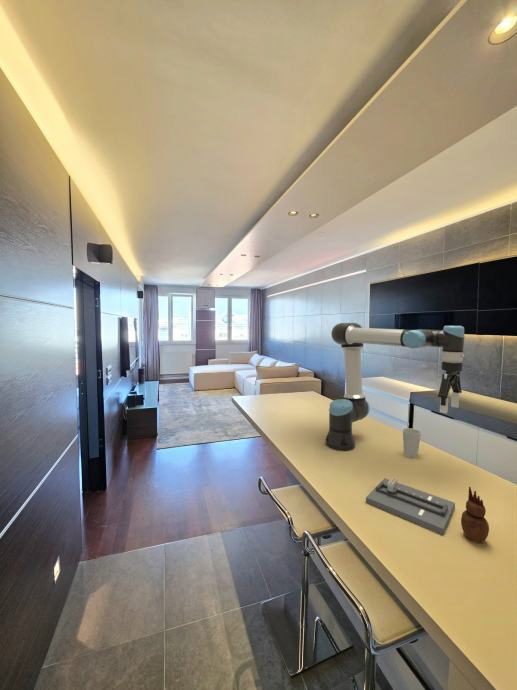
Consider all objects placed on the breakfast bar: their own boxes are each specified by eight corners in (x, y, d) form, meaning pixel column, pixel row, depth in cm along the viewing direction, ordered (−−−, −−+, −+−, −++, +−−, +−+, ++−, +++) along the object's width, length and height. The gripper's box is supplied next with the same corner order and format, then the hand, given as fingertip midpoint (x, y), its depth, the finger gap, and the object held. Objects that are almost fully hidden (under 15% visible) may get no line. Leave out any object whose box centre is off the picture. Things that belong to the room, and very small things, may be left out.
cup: (422, 459, 140) (423, 434, 139) (404, 457, 141) (405, 433, 141) (416, 452, 148) (417, 428, 147) (399, 450, 149) (400, 427, 148)
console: (365, 502, 106) (366, 493, 106) (384, 482, 119) (384, 474, 119) (443, 535, 90) (443, 524, 89) (454, 508, 103) (455, 498, 102)
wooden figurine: (456, 530, 92) (458, 484, 90) (473, 529, 92) (476, 483, 91) (473, 547, 85) (476, 497, 84) (492, 545, 85) (495, 496, 84)
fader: (385, 493, 108) (386, 481, 107) (390, 488, 111) (390, 477, 111) (394, 497, 106) (394, 484, 105) (398, 492, 109) (398, 479, 108)
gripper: (451, 365, 116) (448, 417, 118) (471, 360, 132) (468, 406, 134) (431, 363, 122) (428, 413, 123) (452, 358, 138) (449, 403, 139)
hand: (449, 409), depth 128 cm, fingers open, 13 cm apart
